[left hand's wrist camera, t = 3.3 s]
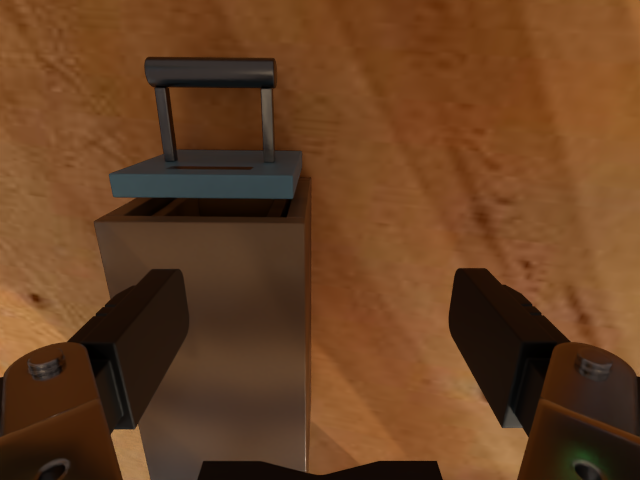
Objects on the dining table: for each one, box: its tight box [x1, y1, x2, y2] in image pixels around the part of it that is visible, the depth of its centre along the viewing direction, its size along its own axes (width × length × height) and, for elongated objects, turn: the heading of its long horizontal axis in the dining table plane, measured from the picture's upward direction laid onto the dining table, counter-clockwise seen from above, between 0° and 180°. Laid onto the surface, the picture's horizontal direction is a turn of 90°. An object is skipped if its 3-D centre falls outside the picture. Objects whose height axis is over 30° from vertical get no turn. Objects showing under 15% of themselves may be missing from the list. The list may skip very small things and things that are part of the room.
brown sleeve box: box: [94, 178, 311, 480], centre depth 27 cm, size 22×10×11 cm, turn 0°
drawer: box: [109, 57, 302, 217], centre depth 25 cm, size 26×9×9 cm, turn 0°
